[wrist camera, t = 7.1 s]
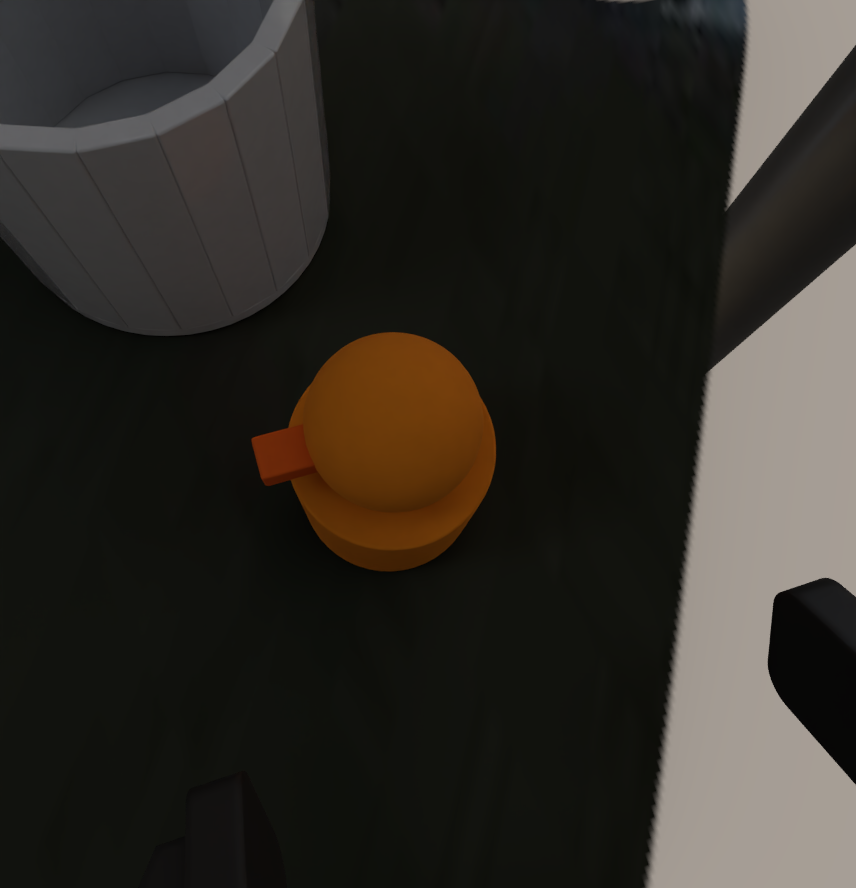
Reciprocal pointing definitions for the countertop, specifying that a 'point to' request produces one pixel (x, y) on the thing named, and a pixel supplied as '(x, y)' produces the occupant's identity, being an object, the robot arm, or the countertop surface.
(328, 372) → the duck
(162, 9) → the pot
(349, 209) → the countertop surface
